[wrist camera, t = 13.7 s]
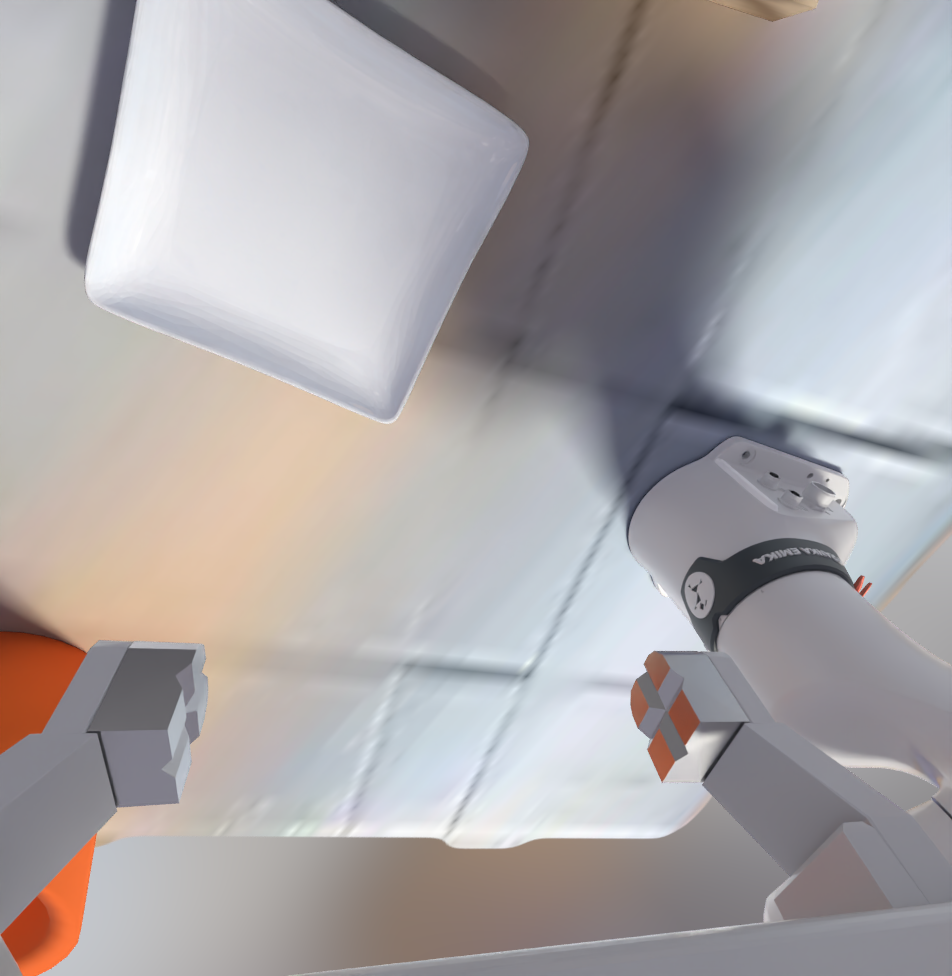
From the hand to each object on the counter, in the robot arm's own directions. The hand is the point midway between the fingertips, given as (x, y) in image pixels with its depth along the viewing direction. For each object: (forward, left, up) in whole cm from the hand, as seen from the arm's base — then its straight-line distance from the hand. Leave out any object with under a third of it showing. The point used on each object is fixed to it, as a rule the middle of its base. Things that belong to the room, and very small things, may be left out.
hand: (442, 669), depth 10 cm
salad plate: (+6, -3, -35) cm, 35 cm away
